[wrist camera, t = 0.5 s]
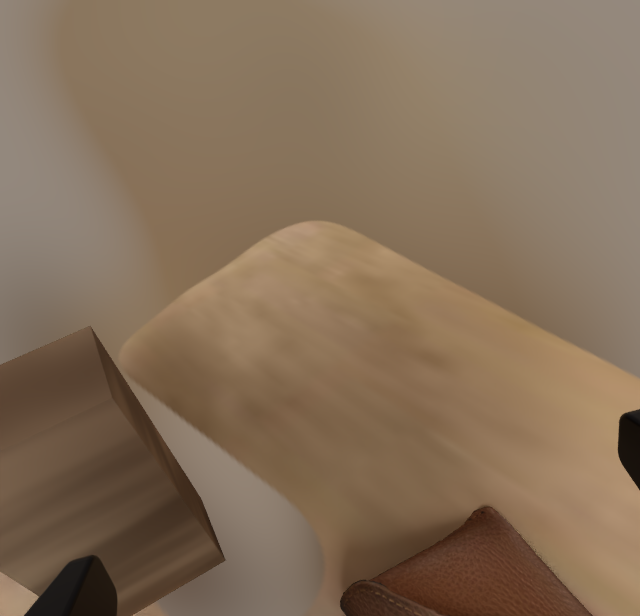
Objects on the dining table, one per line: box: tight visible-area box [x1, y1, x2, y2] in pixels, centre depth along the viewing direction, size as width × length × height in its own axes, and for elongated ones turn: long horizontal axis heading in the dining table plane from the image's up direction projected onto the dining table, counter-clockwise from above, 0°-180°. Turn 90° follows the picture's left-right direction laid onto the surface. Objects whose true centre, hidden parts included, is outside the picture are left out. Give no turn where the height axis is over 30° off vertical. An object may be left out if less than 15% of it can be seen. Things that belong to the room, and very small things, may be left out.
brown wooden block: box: [0, 326, 225, 616], centre depth 21 cm, size 4×6×13 cm, turn 119°
